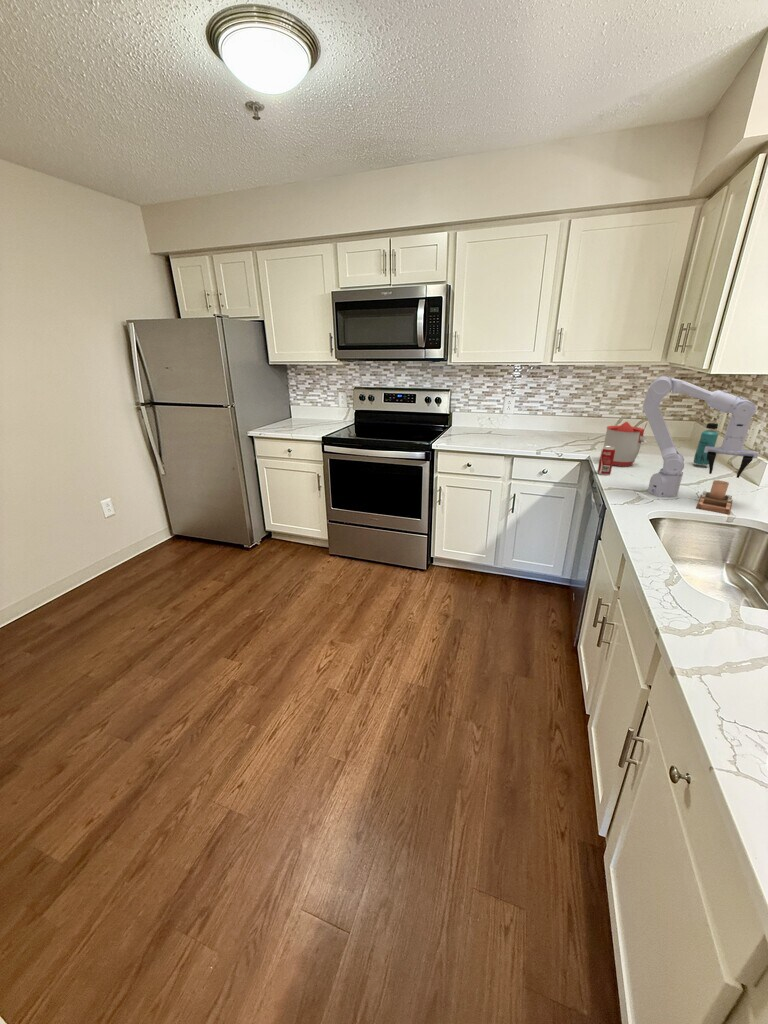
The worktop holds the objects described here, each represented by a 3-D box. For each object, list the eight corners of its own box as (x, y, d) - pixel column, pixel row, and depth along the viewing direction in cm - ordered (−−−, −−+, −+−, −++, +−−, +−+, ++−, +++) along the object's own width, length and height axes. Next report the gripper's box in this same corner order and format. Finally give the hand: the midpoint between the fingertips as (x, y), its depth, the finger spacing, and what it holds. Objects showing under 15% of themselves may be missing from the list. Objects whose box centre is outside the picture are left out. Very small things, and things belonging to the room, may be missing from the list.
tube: (715, 503, 149) (721, 484, 146) (704, 499, 153) (710, 480, 150) (726, 502, 150) (732, 483, 147) (715, 498, 154) (721, 480, 151)
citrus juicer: (635, 470, 191) (645, 426, 183) (595, 464, 202) (603, 422, 194) (644, 463, 201) (654, 421, 194) (605, 457, 212) (613, 417, 205)
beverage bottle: (693, 463, 201) (705, 421, 194) (710, 466, 197) (723, 423, 189) (690, 466, 197) (702, 423, 190) (707, 469, 192) (720, 425, 185)
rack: (729, 517, 139) (731, 510, 138) (694, 510, 145) (696, 504, 144) (731, 502, 152) (733, 495, 151) (700, 496, 158) (702, 490, 157)
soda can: (599, 471, 190) (604, 445, 185) (611, 473, 187) (617, 446, 182) (595, 474, 186) (600, 447, 181) (608, 476, 183) (614, 449, 178)
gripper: (707, 436, 144) (697, 474, 149) (763, 441, 136) (750, 481, 140) (709, 432, 149) (699, 469, 154) (763, 437, 141) (750, 476, 146)
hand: (723, 475), depth 148 cm, fingers open, 7 cm apart
